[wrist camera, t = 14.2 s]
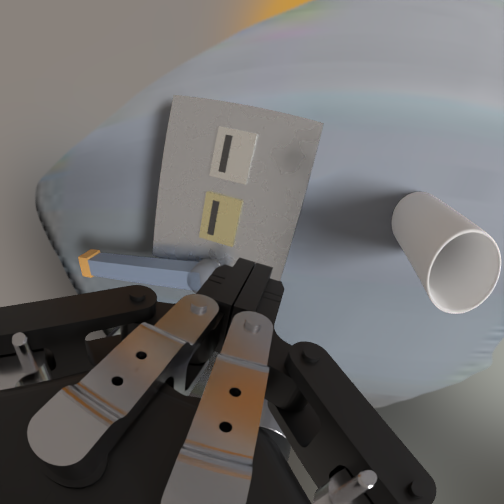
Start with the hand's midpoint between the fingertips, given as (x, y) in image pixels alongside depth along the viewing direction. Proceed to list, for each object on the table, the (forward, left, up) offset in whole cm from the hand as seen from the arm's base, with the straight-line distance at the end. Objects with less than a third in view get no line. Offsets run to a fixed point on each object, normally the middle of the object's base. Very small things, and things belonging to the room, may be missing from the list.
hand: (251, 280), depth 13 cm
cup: (0, -17, -27) cm, 32 cm away
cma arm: (-15, +17, -21) cm, 31 cm away
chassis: (-3, +8, -27) cm, 28 cm away
